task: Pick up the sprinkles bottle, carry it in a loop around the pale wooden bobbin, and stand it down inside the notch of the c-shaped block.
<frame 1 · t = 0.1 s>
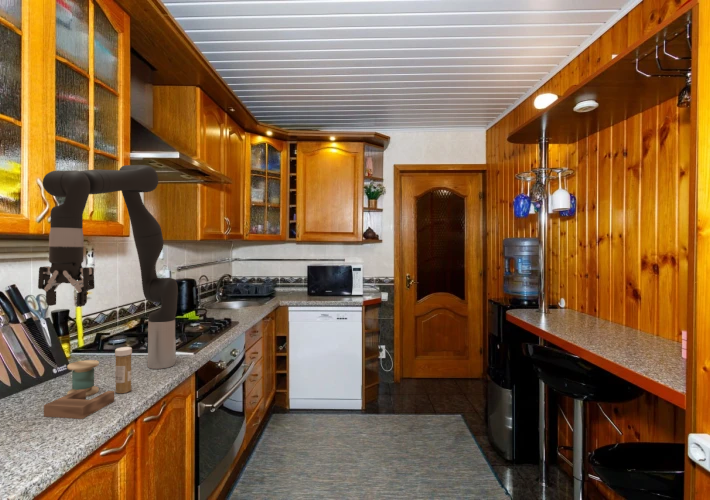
hand: (66, 305, 109), 29 cm above the countertop, tool pointing down, fingers open, 8 cm apart
sprinkles bottle: (123, 392, 126), on the countertop
bobbin: (83, 392, 124), on the countertop
c-shaped block: (80, 408, 112), on the countertop
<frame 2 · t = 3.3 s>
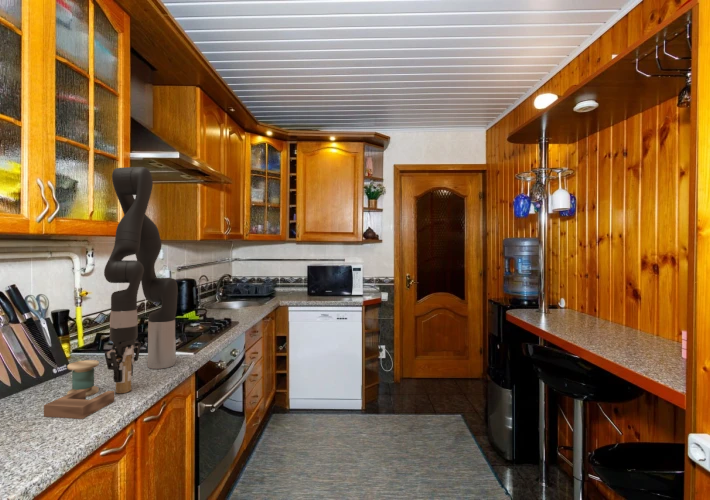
hand: (123, 379, 126), 4 cm above the countertop, tool pointing down, fingers closed on sprinkles bottle, 4 cm apart
sprinkles bottle: (123, 391, 126), on the countertop, touching gripper
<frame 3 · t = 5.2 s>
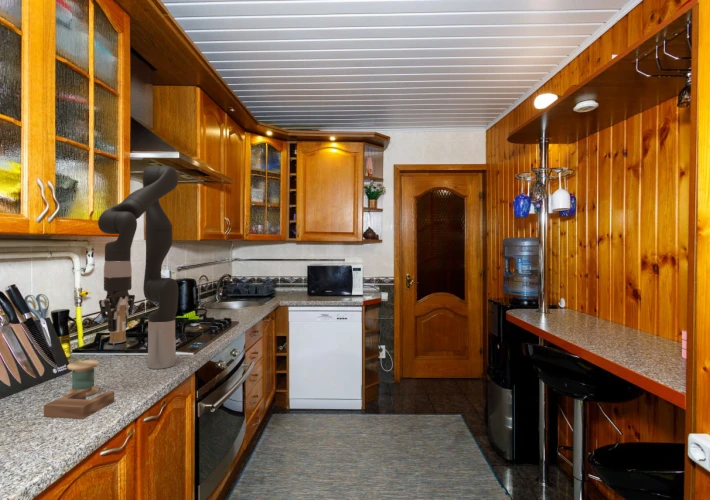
hand: (117, 329, 127), 19 cm above the countertop, tool pointing down, fingers closed on sprinkles bottle, 4 cm apart
sprinkles bottle: (117, 342, 127), point 15 cm above the countertop, touching gripper
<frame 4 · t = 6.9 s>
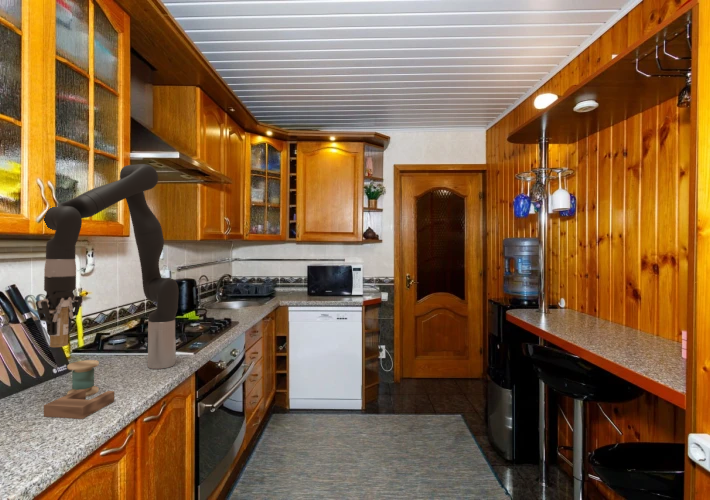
hand: (59, 332, 118), 20 cm above the countertop, tool pointing down, fingers closed on sprinkles bottle, 4 cm apart
sprinkles bottle: (58, 346, 118), point 16 cm above the countertop, touching gripper
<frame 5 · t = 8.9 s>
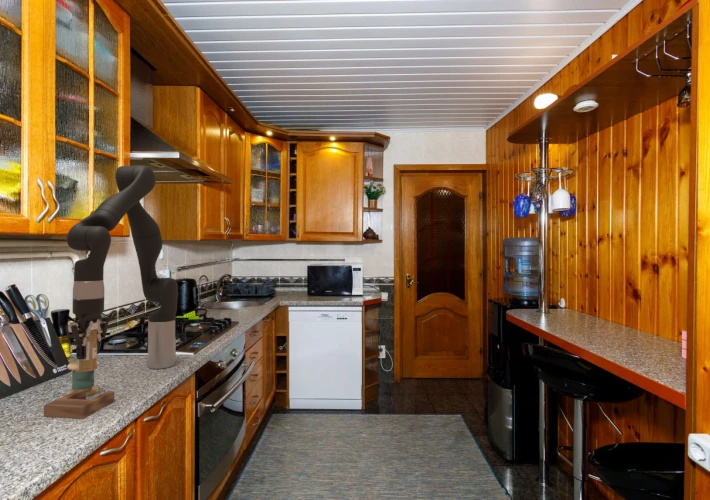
hand: (88, 356, 115), 14 cm above the countertop, tool pointing down, fingers closed on sprinkles bottle, 4 cm apart
sprinkles bottle: (87, 370, 115), point 10 cm above the countertop, touching gripper
when the fingers open (5 cm above the countertop, at t = 10.8 s): sprinkles bottle drops 1 cm, on the countertop.
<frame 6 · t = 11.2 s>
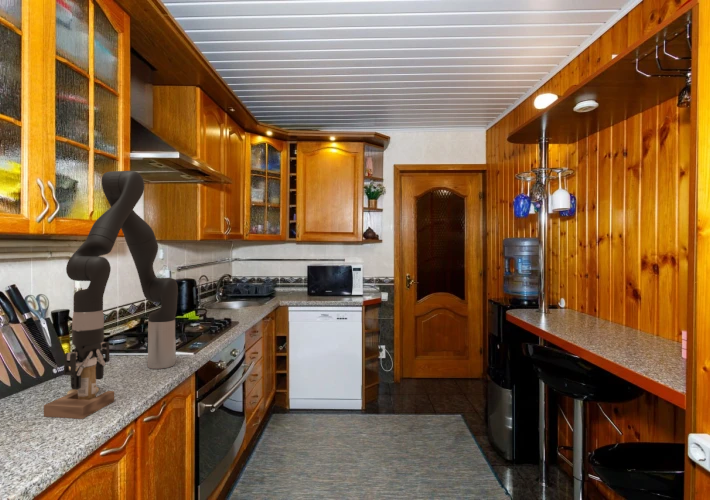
hand: (87, 383, 115), 6 cm above the countertop, tool pointing down, fingers open, 8 cm apart
sprinkles bottle: (86, 406, 115), on the countertop
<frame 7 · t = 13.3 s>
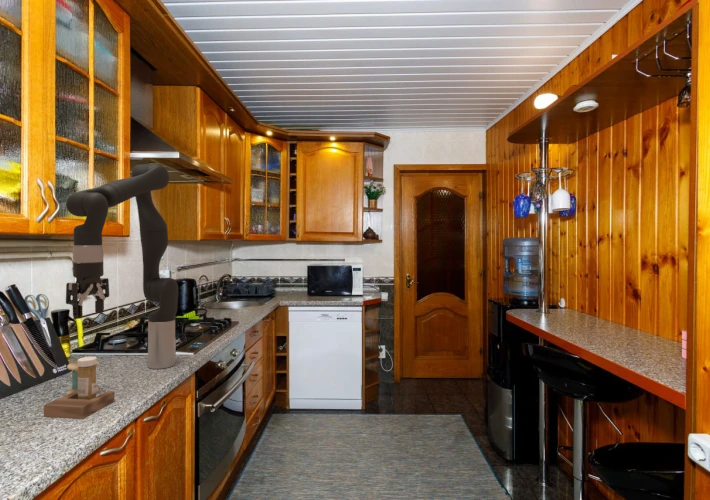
hand: (89, 315, 119), 25 cm above the countertop, tool pointing down, fingers open, 8 cm apart
nothing on the countertop moved.
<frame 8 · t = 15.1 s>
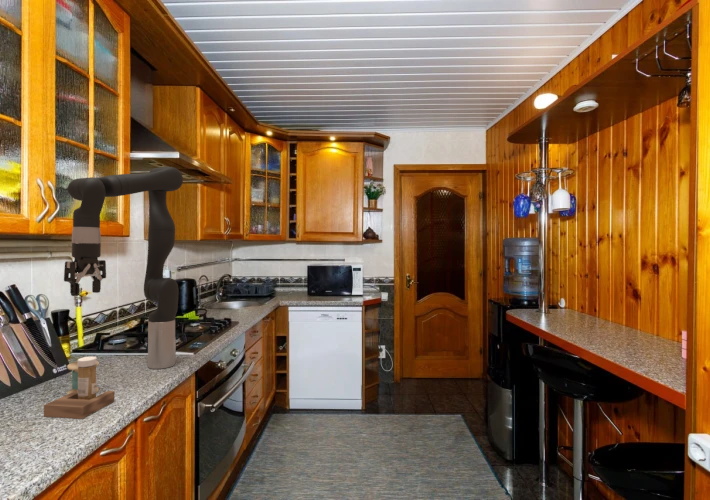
hand: (86, 294, 126), 30 cm above the countertop, tool pointing down, fingers open, 8 cm apart
nothing on the countertop moved.
at the end: sprinkles bottle 0.2 cm from the target spot on the c-shaped block, point 0.0 cm above the c-shaped block's base; sprinkles bottle tilted 0°; the gripper is holding nothing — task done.
